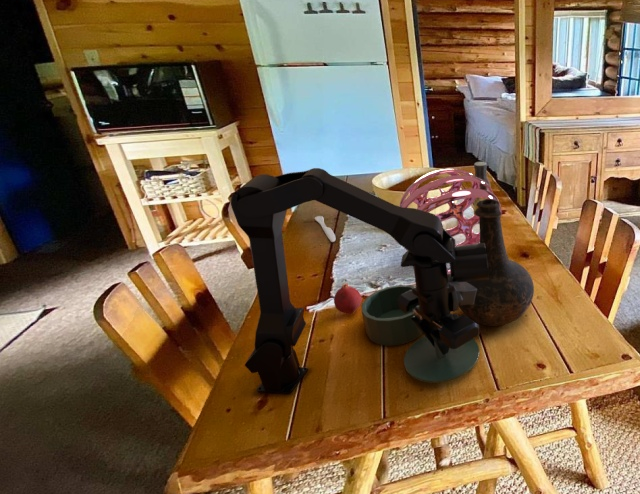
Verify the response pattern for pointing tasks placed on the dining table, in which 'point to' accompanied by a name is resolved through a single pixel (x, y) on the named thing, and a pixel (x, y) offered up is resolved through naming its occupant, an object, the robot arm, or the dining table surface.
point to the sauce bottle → (481, 173)
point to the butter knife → (326, 228)
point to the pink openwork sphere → (451, 200)
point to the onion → (347, 299)
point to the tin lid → (439, 361)
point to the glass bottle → (498, 275)
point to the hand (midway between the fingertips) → (441, 350)
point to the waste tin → (389, 317)
